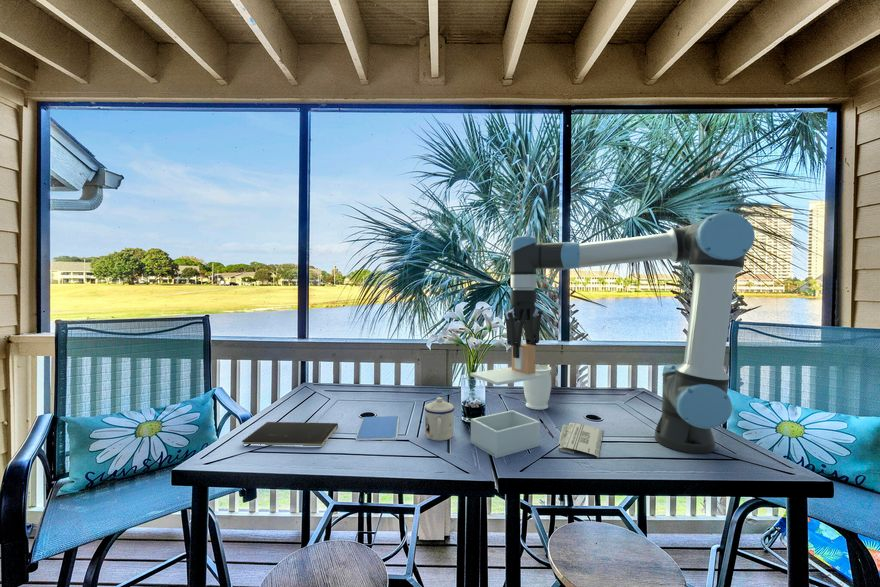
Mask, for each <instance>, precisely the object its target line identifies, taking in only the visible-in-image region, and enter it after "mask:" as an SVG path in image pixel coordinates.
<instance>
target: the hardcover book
mask: <svg viewBox="0 0 880 587" xmlns="http://www.w3.org/2000/svg"><path fill="white" fill-rule="evenodd" d="M337 427H338V428H339V424H338V422H298V421H297V422H296V421H295V422H294V421H293V422H292V421H291V422H289V421H286V422H285V421H267V422H265V423H263V425H261V426H260V427H258V428H257V429H256V430H254V431H253V432H252V433H250V434H249V435H248V436H247V437H244V439H242V440H241V443H243V445H244V444H260V445H261V444H265V445H303V446H322V445H323V444H324V443H325V441H326V440H327V439H328V438H329V436H330V435H331V434H332V433H333V431H334V430H335V429H336V428H337ZM338 428H337V429H338ZM337 429H336V430H337ZM336 430H335V431H336ZM335 431H334V432H335ZM333 434H334V433H333ZM333 434H332V435H333ZM332 435H331V436H332ZM331 436H330V437H331ZM329 439H330V438H329ZM329 439H328V440H329ZM328 440H327V441H328ZM327 441H326V442H327ZM325 444H326V443H325ZM325 444H324V445H325ZM324 445H323V446H324ZM323 446H322V447H323Z"/></svg>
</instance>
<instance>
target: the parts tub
mask: <svg viewBox="0 0 880 587" xmlns="http://www.w3.org/2000/svg"><path fill="white" fill-rule="evenodd" d="M470 443H471V444H472V445H474V446H475V447H477V448H479V449H480V450H482V451H484V452H486V453H487V454H488V455H490V456H493V458H496V459H499V458H502V457H505V456H509V455H512V454H516V453H519V452H523V451H525V450H530V449H533V448H537V447H540V446H541V421H539V420H537V419H534V418H532V417H530V416H529V415H525V414H523V413H520V412H518V411H516V410H512V409H511V410H508V411H502V412H498V413H493V414H488V415H483V416H479V417H475V418H474V417H473V418H470Z"/></svg>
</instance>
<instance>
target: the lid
mask: <svg viewBox="0 0 880 587" xmlns="http://www.w3.org/2000/svg"><path fill="white" fill-rule="evenodd" d="M520 347H523V370H519V369H516V368H515V358H514V357H513V346H511V366H510V367H503V368H497V369H495V368H494V369H489V370H483V371H476V372H470V373H469V374H470V377H473V378H475V379H479V380H481V381H484V382H487V383H489V384H493V385H495V386H501V385H507V384H513V383H518V382H523V381H526V380H531V379H537V378H543V375H542V374H539V373H535V365H536V346H535V345H529V344H526V343H525V342H521V346H520Z"/></svg>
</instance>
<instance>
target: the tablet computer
mask: <svg viewBox="0 0 880 587" xmlns="http://www.w3.org/2000/svg"><path fill="white" fill-rule="evenodd" d="M399 425H400V416H397V415H396V416H395V415H391V416H364V417H362V419H361V422H360V424H359V427H358V430H357V432H358V433H357V432H356V435H357V436H356V435H355V438H354V440H355V439H356V440H382V441H397V440H398V434H399ZM396 439H397V440H396Z"/></svg>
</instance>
